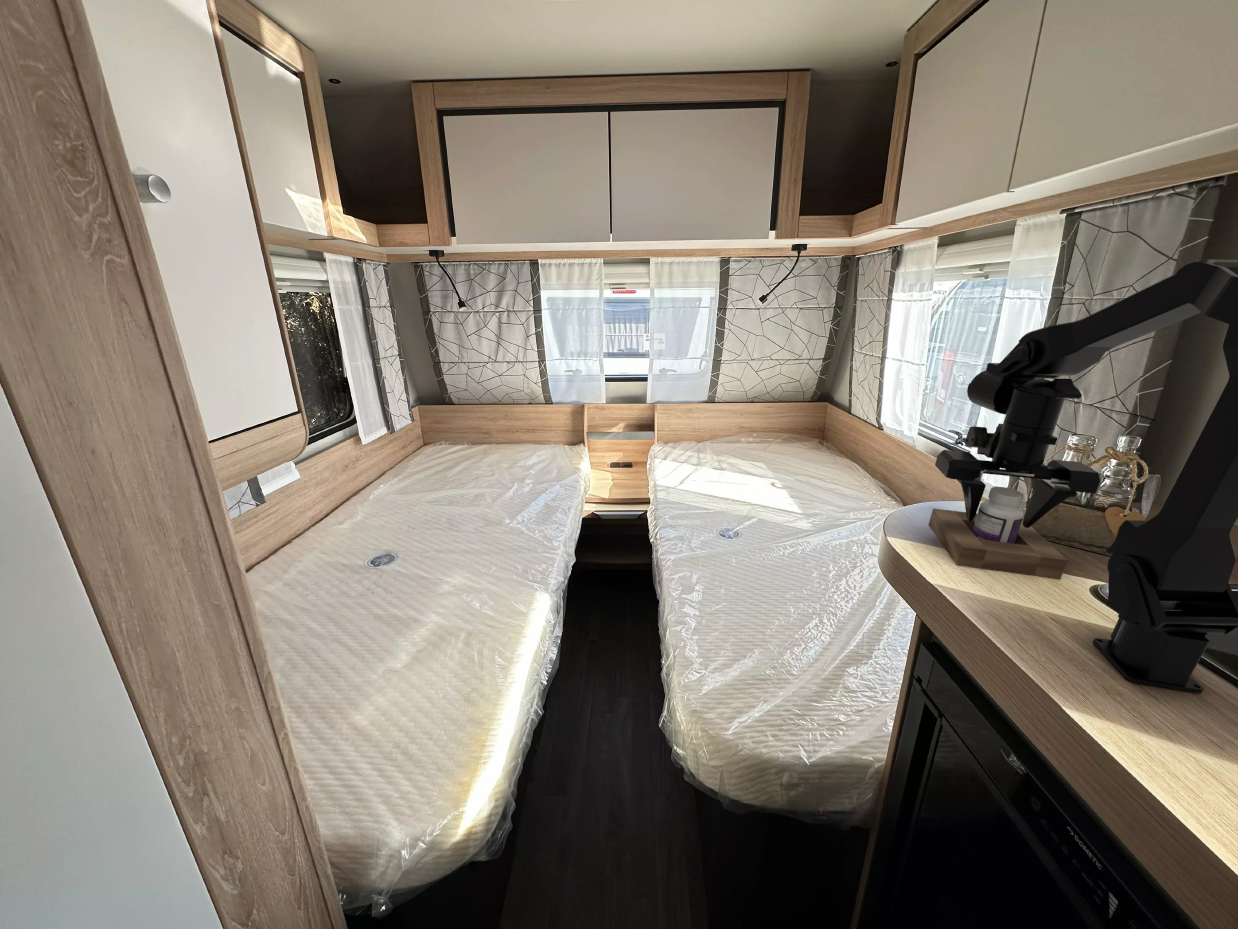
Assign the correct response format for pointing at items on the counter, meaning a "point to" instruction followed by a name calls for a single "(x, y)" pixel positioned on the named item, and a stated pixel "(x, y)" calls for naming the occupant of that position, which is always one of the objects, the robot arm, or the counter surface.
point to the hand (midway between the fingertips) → (996, 523)
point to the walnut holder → (996, 547)
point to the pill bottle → (999, 516)
